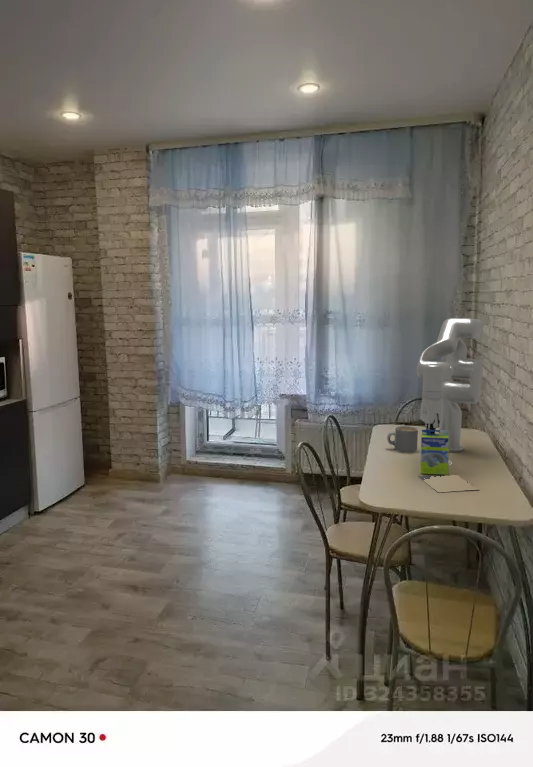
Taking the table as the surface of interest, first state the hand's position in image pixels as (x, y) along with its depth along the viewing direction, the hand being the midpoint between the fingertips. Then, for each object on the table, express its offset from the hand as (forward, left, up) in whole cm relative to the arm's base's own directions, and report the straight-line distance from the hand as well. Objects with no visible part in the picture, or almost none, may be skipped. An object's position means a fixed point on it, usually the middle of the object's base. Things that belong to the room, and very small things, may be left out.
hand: (430, 439), depth 211 cm
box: (+5, 0, -13) cm, 14 cm away
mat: (+17, 0, -13) cm, 21 cm away
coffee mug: (-29, 0, -13) cm, 32 cm away
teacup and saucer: (-9, +7, -14) cm, 18 cm away
